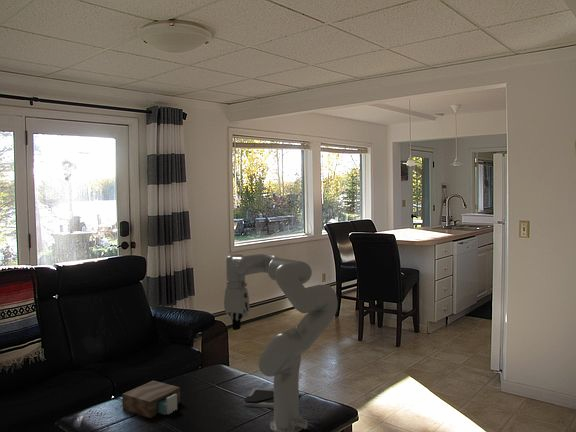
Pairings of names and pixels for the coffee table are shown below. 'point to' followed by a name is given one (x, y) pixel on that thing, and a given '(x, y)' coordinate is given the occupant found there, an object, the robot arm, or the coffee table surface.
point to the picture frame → (260, 398)
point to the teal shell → (167, 404)
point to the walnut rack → (148, 397)
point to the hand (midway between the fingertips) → (236, 329)
